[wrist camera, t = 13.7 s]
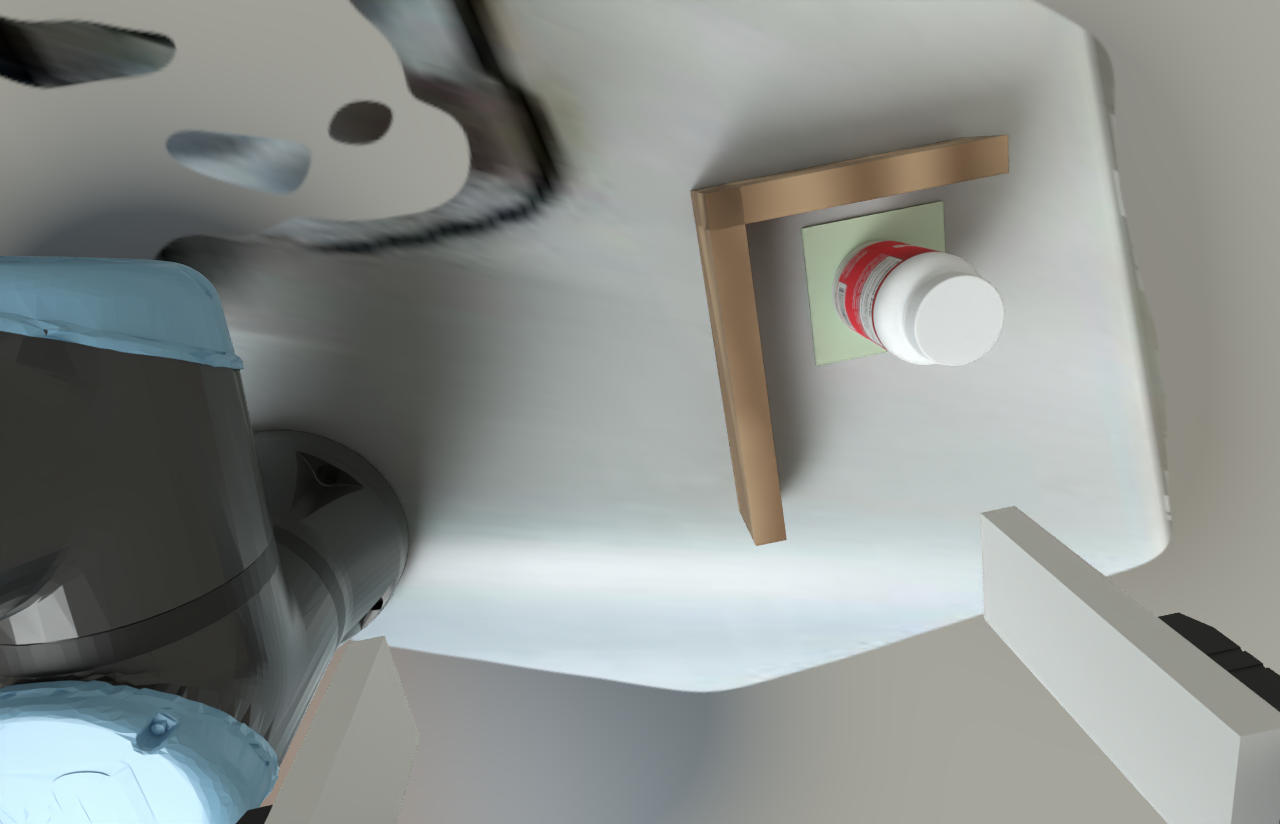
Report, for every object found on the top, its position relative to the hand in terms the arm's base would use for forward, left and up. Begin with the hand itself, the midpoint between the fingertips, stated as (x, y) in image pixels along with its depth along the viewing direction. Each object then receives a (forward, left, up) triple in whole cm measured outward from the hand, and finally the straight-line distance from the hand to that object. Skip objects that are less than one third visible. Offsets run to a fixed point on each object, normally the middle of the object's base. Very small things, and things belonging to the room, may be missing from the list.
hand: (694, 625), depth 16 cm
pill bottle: (+17, -1, -33) cm, 37 cm away
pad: (+17, -1, -33) cm, 37 cm away
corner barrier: (+14, -4, -33) cm, 36 cm away
